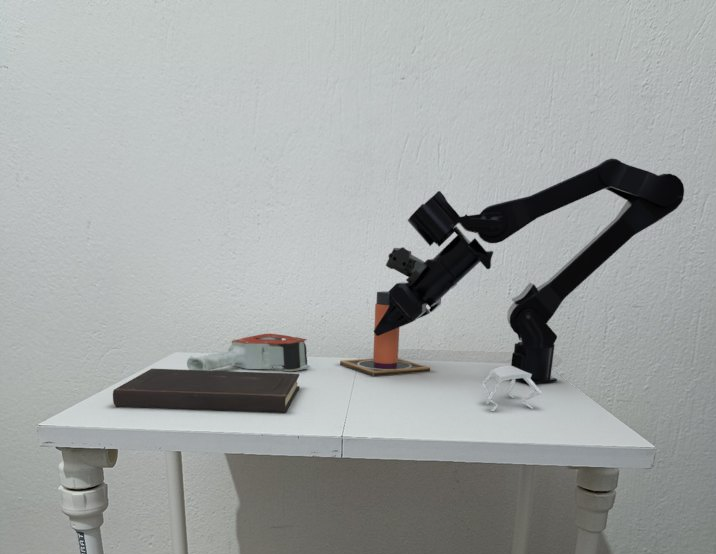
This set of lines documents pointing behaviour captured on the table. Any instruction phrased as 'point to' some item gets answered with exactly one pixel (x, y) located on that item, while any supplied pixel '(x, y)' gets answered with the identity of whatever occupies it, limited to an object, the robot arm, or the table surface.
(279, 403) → the hardcover book
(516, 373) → the white legged figure
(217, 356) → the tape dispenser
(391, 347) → the dot marker
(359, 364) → the square coaster
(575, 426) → the table surface
